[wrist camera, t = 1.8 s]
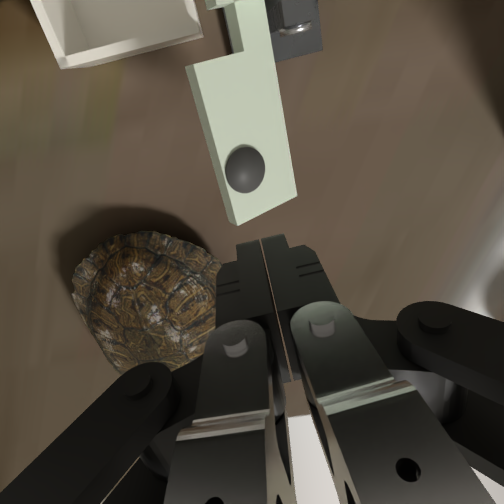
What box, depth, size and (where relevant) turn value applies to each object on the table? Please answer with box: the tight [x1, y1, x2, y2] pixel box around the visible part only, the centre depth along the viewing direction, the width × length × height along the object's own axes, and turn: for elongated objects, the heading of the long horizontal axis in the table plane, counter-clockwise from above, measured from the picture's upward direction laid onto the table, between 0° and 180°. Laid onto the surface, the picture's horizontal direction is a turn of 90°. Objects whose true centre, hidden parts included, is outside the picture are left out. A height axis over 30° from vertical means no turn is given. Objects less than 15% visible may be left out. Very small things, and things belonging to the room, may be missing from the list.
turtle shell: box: [71, 231, 222, 375], centre depth 36 cm, size 16×9×20 cm
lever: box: [185, 0, 297, 226], centre depth 19 cm, size 17×17×4 cm
